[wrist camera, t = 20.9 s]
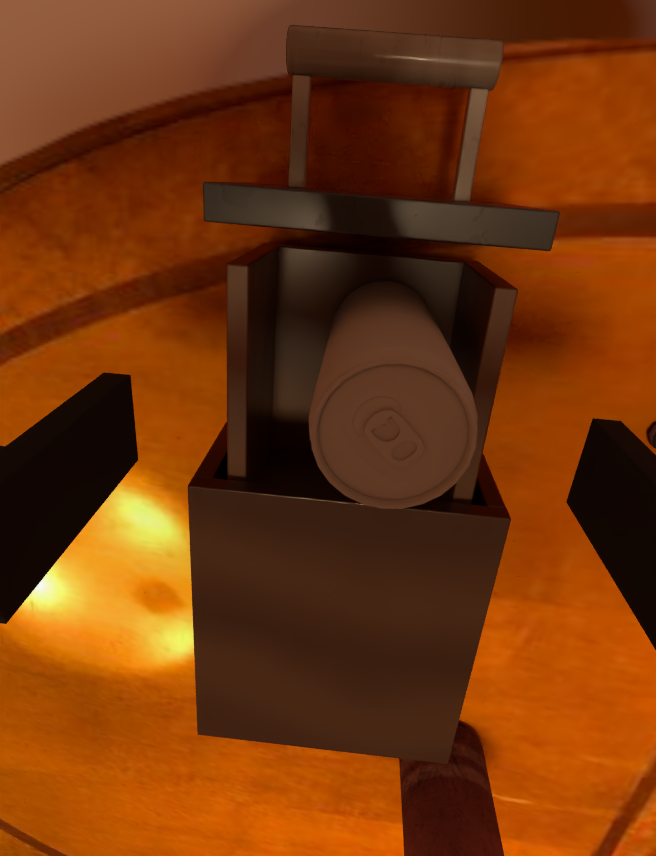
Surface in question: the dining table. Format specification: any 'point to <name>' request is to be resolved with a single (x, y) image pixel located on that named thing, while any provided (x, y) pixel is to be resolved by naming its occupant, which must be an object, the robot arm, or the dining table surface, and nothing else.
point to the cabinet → (337, 612)
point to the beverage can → (390, 402)
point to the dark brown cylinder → (450, 803)
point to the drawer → (361, 256)
